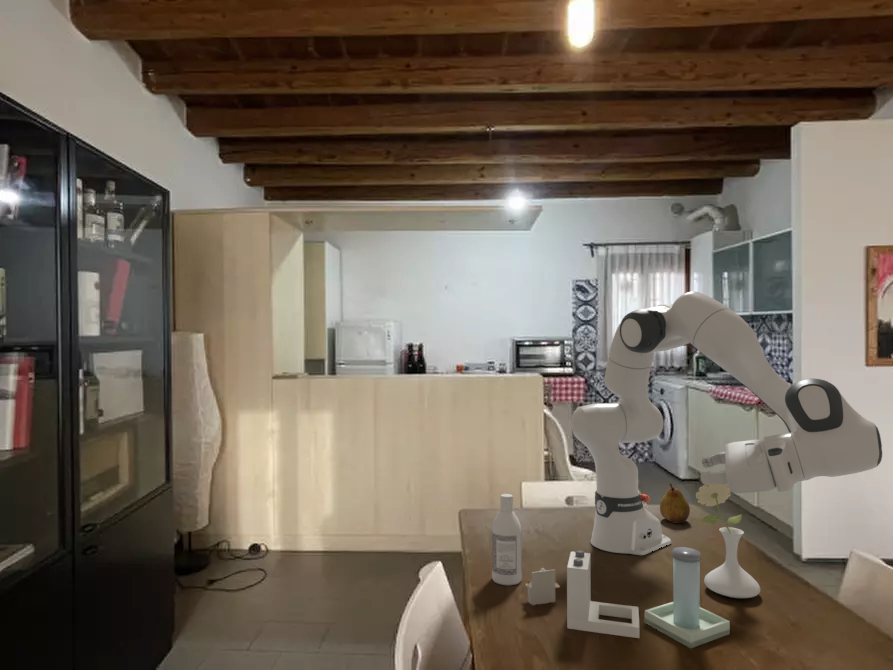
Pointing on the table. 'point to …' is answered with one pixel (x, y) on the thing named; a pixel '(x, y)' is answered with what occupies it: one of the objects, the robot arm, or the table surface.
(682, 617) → the cylinder
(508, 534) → the bath foam
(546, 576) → the architectural model
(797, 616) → the table surface
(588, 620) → the base
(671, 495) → the fruit
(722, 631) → the tray
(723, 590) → the flower in vase
